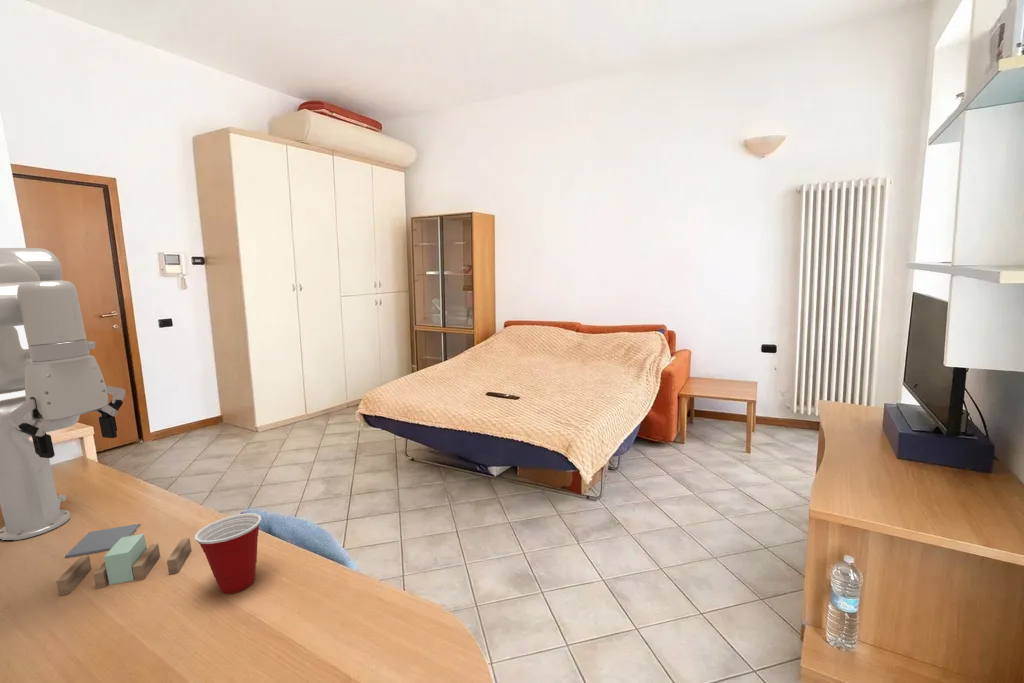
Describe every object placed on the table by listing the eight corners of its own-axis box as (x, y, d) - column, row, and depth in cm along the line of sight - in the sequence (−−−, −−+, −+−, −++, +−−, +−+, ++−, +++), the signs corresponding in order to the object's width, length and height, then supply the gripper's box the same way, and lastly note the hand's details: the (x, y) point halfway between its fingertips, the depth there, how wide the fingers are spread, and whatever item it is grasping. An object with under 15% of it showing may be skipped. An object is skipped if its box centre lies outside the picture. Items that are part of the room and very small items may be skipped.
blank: (126, 564, 101) (121, 537, 100) (148, 560, 102) (144, 533, 101) (109, 585, 94) (103, 556, 93) (133, 580, 95) (128, 552, 94)
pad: (90, 533, 113) (89, 531, 113) (140, 525, 116) (140, 523, 116) (65, 558, 104) (64, 555, 104) (120, 548, 107) (120, 546, 106)
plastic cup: (258, 559, 100) (250, 504, 98) (277, 581, 92) (269, 522, 90) (197, 585, 93) (187, 526, 91) (212, 612, 85) (202, 548, 83)
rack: (82, 570, 99) (80, 557, 98) (191, 550, 104) (189, 537, 104) (59, 595, 91) (56, 581, 91) (177, 572, 97) (175, 559, 96)
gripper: (101, 344, 94) (118, 430, 97) (-19, 362, 78) (5, 464, 81) (127, 343, 92) (144, 431, 94) (8, 362, 76) (32, 467, 78)
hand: (80, 446), depth 87 cm, fingers open, 9 cm apart
